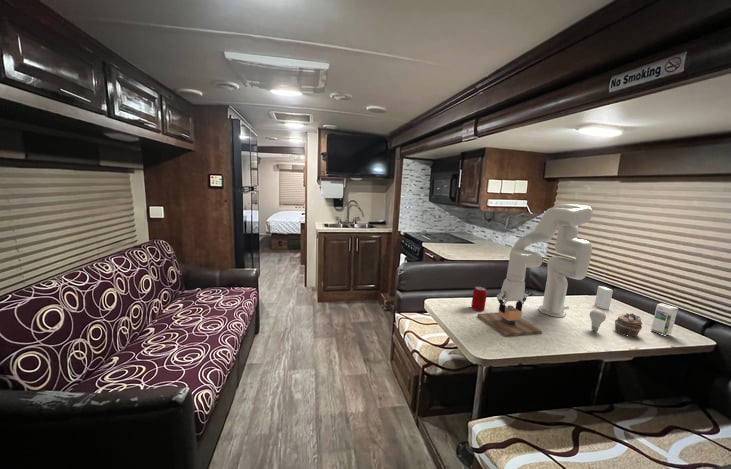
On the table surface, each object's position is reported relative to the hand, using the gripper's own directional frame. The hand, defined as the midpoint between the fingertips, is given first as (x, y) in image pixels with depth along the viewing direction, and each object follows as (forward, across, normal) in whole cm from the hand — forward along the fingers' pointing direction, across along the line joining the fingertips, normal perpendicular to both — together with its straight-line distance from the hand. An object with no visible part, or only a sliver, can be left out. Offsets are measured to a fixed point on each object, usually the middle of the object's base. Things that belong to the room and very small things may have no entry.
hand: (510, 311), depth 137 cm
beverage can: (+7, +4, -18) cm, 20 cm away
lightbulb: (+7, -40, +12) cm, 42 cm away
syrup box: (+7, -74, +19) cm, 77 cm away
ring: (+3, 0, 0) cm, 3 cm away
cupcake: (+7, -55, +16) cm, 58 cm away
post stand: (+7, 0, 0) cm, 7 cm away
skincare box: (+7, -77, -11) cm, 78 cm away
